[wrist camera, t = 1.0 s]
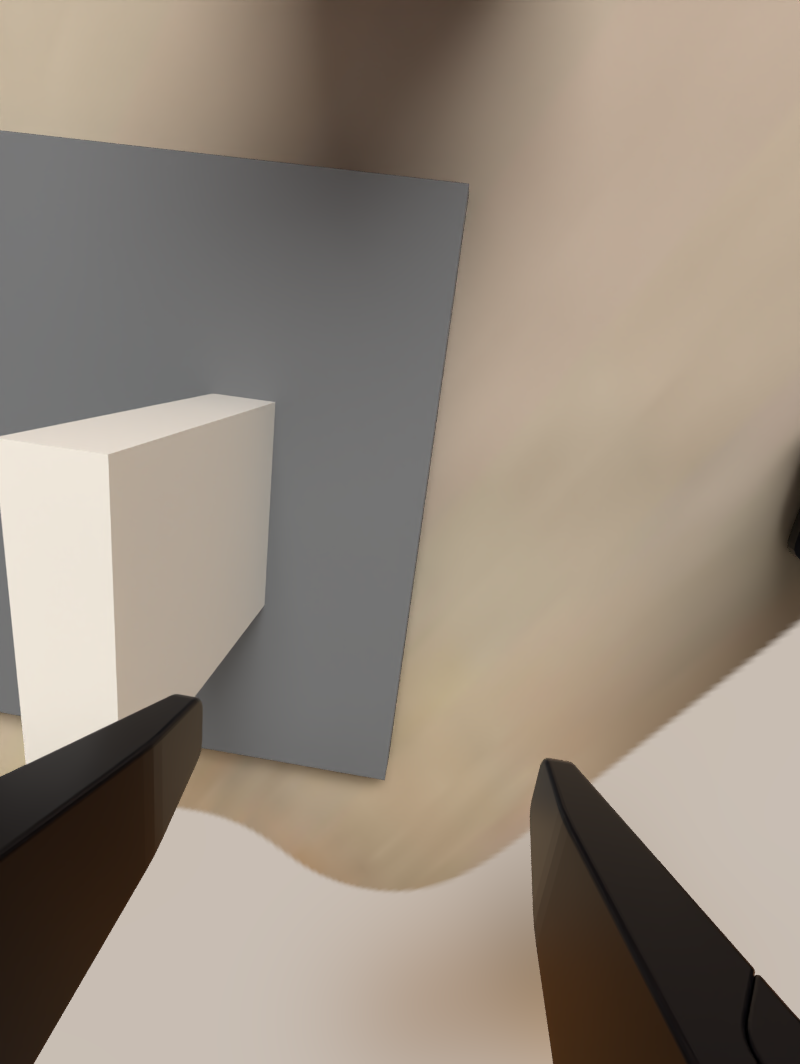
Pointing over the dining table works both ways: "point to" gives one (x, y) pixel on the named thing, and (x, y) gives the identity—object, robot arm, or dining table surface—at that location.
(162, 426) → the tile
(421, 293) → the mat
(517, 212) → the dining table surface
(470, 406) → the dining table surface
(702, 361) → the dining table surface
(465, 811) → the dining table surface
